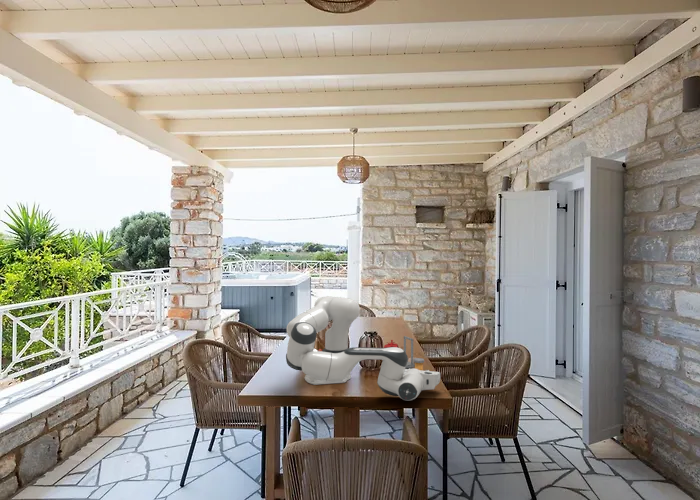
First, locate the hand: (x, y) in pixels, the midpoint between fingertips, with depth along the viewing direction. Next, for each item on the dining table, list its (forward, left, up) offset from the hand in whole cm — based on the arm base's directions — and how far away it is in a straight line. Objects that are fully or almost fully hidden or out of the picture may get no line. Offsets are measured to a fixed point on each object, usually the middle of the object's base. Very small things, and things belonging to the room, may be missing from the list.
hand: (419, 370), depth 181 cm
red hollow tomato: (+16, +52, -7) cm, 55 cm away
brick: (+9, +27, -7) cm, 29 cm away
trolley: (-2, +14, -7) cm, 15 cm away
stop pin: (-1, -1, -7) cm, 7 cm away
